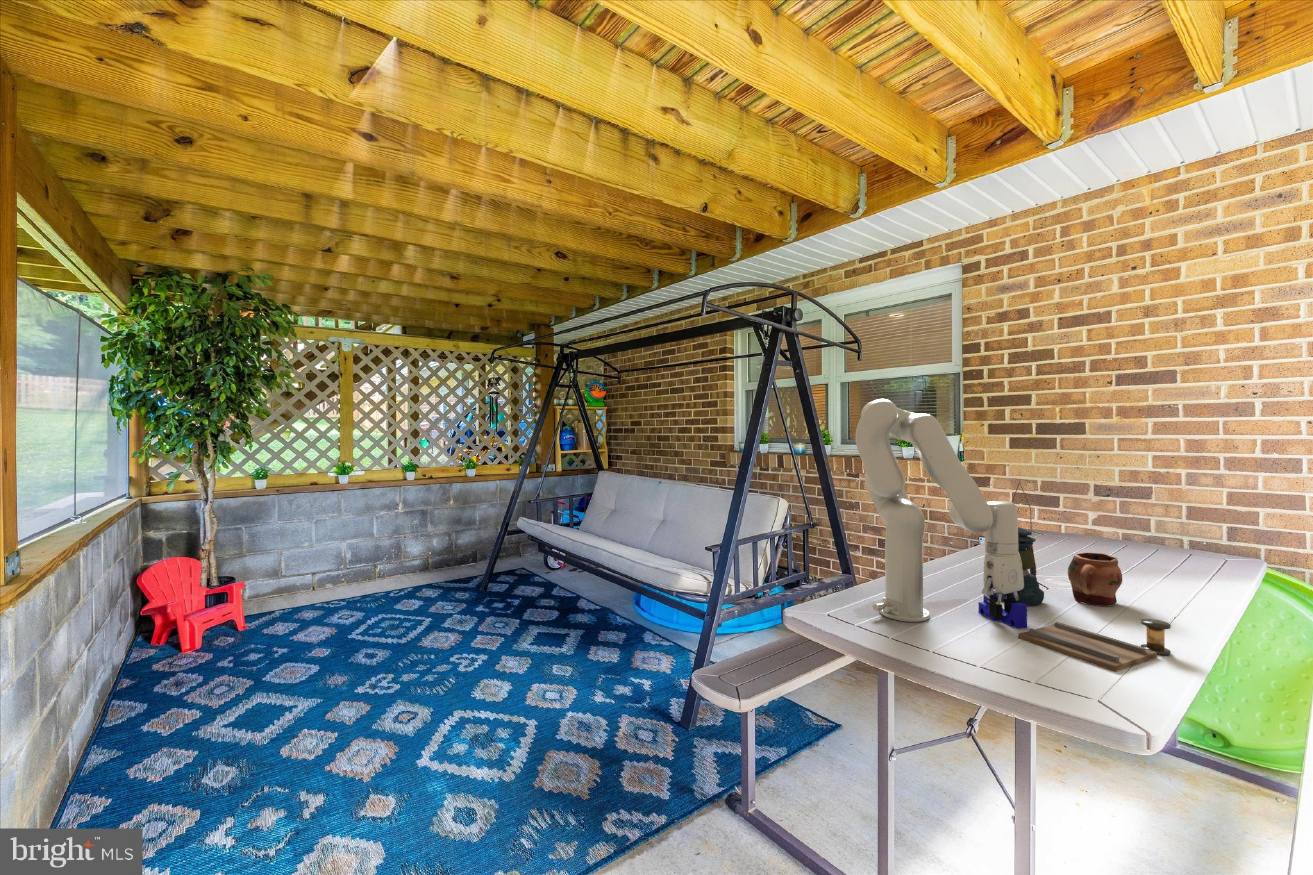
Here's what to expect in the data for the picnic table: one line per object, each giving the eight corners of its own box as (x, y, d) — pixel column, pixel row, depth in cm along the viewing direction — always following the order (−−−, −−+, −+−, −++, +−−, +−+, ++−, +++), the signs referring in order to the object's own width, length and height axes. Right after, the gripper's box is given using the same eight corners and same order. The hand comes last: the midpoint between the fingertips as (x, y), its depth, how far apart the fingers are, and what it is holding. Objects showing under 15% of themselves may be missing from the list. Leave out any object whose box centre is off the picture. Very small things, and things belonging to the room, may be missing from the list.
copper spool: (1163, 657, 119) (1163, 627, 119) (1135, 649, 124) (1135, 620, 124) (1175, 653, 121) (1175, 624, 121) (1147, 645, 126) (1147, 617, 126)
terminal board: (1115, 671, 113) (1115, 661, 112) (1018, 638, 131) (1018, 629, 131) (1156, 657, 119) (1156, 647, 119) (1058, 627, 137) (1058, 619, 137)
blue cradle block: (978, 612, 149) (978, 591, 149) (993, 612, 149) (993, 590, 149) (1010, 628, 137) (1010, 605, 137) (1027, 627, 137) (1027, 604, 137)
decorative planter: (1115, 617, 144) (1115, 565, 144) (1059, 606, 153) (1059, 557, 153) (1127, 600, 157) (1127, 553, 157) (1075, 591, 166) (1075, 546, 166)
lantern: (1024, 610, 151) (1024, 485, 150) (984, 598, 162) (983, 481, 161) (1056, 602, 156) (1055, 482, 156) (1015, 591, 167) (1014, 479, 167)
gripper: (993, 554, 136) (996, 626, 136) (1036, 546, 143) (1038, 614, 143) (966, 549, 143) (968, 617, 143) (1008, 541, 150) (1010, 606, 150)
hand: (1003, 615), depth 143 cm, fingers closed on blue cradle block, 5 cm apart
